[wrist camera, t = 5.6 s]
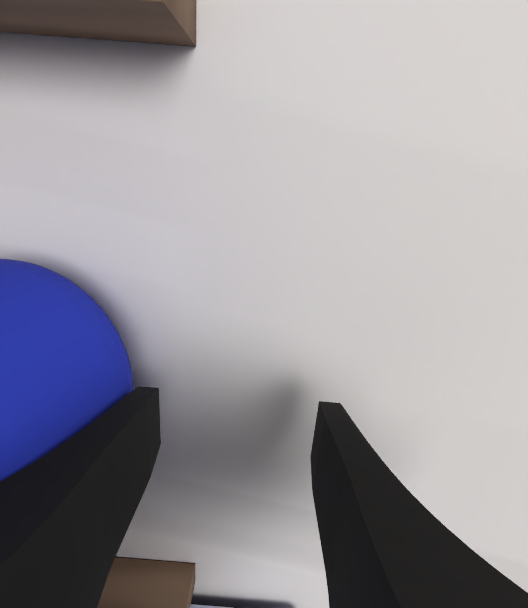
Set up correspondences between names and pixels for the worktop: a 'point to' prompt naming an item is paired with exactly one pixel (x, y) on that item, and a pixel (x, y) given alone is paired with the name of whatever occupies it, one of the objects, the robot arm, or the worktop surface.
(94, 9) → the wooden tray
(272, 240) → the worktop surface
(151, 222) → the worktop surface
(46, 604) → the robot arm
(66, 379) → the mug
